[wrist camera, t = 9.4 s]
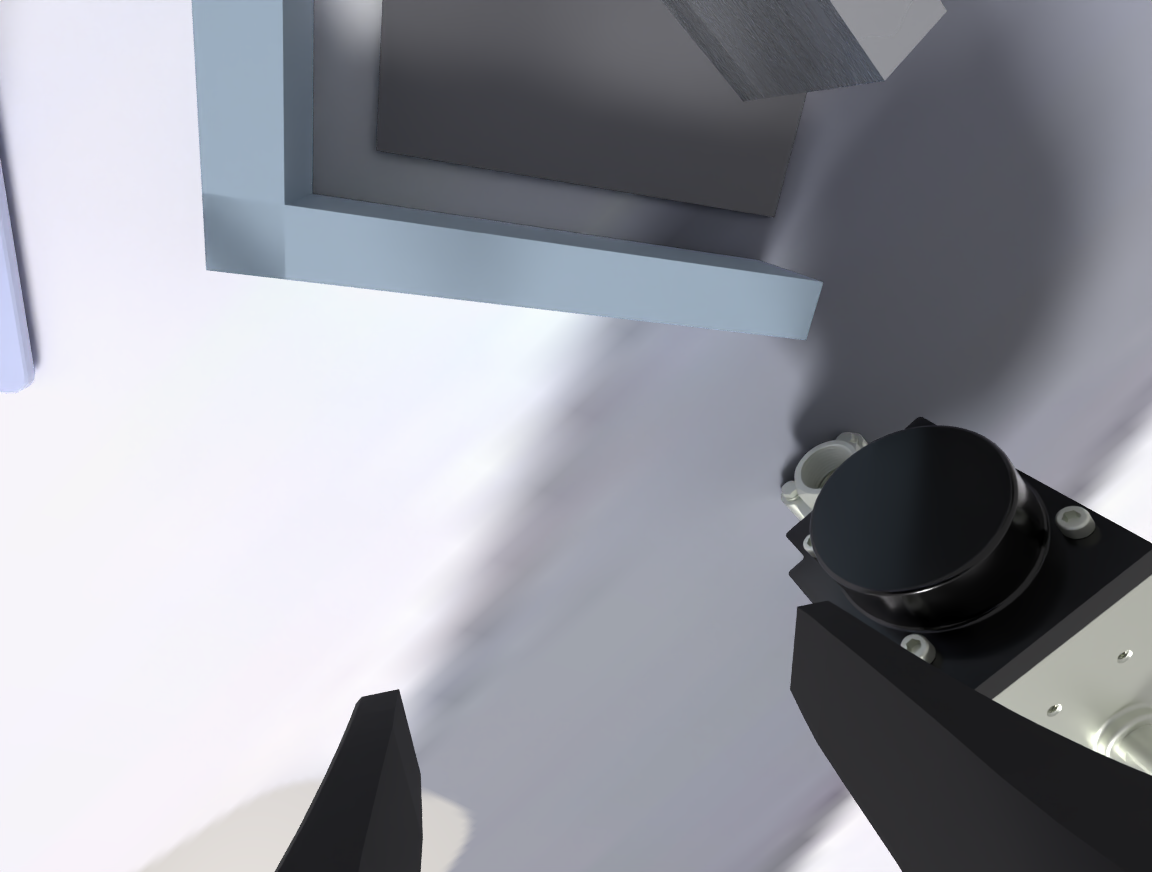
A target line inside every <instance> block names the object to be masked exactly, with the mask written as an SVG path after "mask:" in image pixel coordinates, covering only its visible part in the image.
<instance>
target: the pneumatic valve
mask: <svg viewBox="0 0 1152 872" xmlns="http://www.w3.org/2000/svg"><path fill="white" fill-rule="evenodd" d="M794 476H795V481H788V482H787V483H785V484H784V485H783V487H782V494H781V500H782V502H783V503H784V504H785V505H786V506H787V507H788V508H789V509H790V510H791V511H792V512H793V513H794V514H795V516H796V517H797V518H798V519H799V520H800V522H799V523H798V524H796V525H795V526H794V527H793V528H792V529H791V530H790V531H789V532H787V534H786V537H787V538H788V539H789V540H790V541H791V542H792V543H793V544H794V546H795V547H796V548H797V549H798V550H799V551H800V552H801V553H802V554H803V556H804V558H803V560H802V561H801V562H800V563H798V564H797V565H796V566H795V567H794V568H793V569H791V570H790V572H789V576H790V577H791V578H792V579H793V580H794V582H795V583H796V584H797V585H798V586H799V588H800V589H801V590H802V591H803V592H804V594H805V595H806V596H807V597H808V598H809V599H810V601H811V602H812V603H818V602H823V601H830V602H831V603H833V604H835V605H836V606H838V607H840V608H841V609H843V610H845V611H846V612H848V613H850V614H851V615H853V616H854V617H856V618H857V619H859V620H861V621H862V622H864V623H865V624H867V625H869V626H870V627H872V628H873V629H875V630H876V631H878V632H880V633H881V634H883V635H884V636H886V637H888V638H889V639H891V640H892V641H894V642H895V643H897V644H899V645H900V646H902V647H903V648H905V649H907V650H908V651H910V652H911V653H913V654H915V655H916V656H918V657H920V658H921V659H923V660H924V661H926V662H928V663H929V664H931V665H933V666H934V667H936V668H938V669H939V670H941V671H943V672H944V673H946V674H948V675H949V676H951V677H953V678H955V679H956V680H958V681H960V682H961V683H963V684H965V685H967V686H968V687H970V688H972V689H974V690H975V691H977V692H979V693H981V694H983V695H985V696H986V697H988V698H990V699H992V700H994V701H995V702H997V703H999V704H1001V705H1003V706H1005V707H1006V708H1008V709H1010V710H1012V711H1014V712H1016V713H1018V714H1019V715H1021V716H1023V717H1025V718H1027V719H1029V720H1031V721H1033V722H1035V723H1037V724H1039V725H1041V726H1043V727H1045V728H1047V729H1049V730H1051V731H1054V732H1056V733H1058V734H1060V735H1062V736H1064V737H1066V738H1068V739H1070V740H1072V741H1074V742H1076V743H1079V744H1081V745H1083V746H1085V747H1087V748H1089V749H1091V750H1093V751H1096V752H1098V753H1100V754H1102V755H1105V756H1107V757H1109V758H1111V759H1114V760H1116V761H1118V762H1120V763H1123V764H1125V765H1128V766H1130V767H1132V768H1135V769H1137V770H1140V771H1142V772H1145V773H1147V774H1149V775H1152V543H1150V542H1149V541H1147V540H1145V539H1143V538H1141V537H1139V536H1138V535H1136V534H1134V533H1132V532H1130V531H1129V530H1127V529H1125V528H1123V527H1121V526H1119V525H1118V524H1116V523H1114V522H1112V521H1110V520H1109V519H1107V518H1105V517H1103V516H1101V515H1099V514H1098V513H1096V512H1094V511H1092V510H1090V509H1088V508H1087V507H1085V506H1083V505H1081V504H1079V503H1078V502H1076V501H1074V500H1072V499H1070V498H1068V497H1067V496H1065V495H1063V494H1061V493H1059V492H1058V491H1056V490H1054V489H1052V488H1050V487H1048V486H1047V485H1045V484H1043V483H1041V482H1039V481H1037V480H1036V479H1034V478H1032V477H1030V476H1028V475H1027V474H1025V473H1023V472H1021V471H1019V470H1017V469H1016V468H1015V467H1014V466H1013V464H1012V463H1011V461H1010V459H1009V458H1008V457H1007V455H1006V454H1005V453H1004V452H1003V451H1002V450H1001V449H1000V448H999V447H998V446H997V445H996V444H995V443H993V442H992V441H991V440H989V439H987V438H986V437H984V436H982V435H980V434H978V433H976V432H973V431H970V430H967V429H963V428H959V427H953V426H942V425H935V424H934V423H932V422H930V421H928V420H926V419H925V418H923V417H919V418H917V419H916V420H914V421H913V422H912V423H911V424H910V425H909V426H908V427H907V428H905V429H904V430H901V431H897V432H895V433H892V434H889V435H886V436H884V437H882V438H879V439H877V440H875V441H873V442H871V443H869V444H868V443H867V442H866V441H865V439H864V438H863V437H862V436H861V435H860V434H859V433H851V432H843V433H841V434H840V435H839V436H838V437H837V438H836V440H832V441H828V442H824V443H822V444H820V445H817V446H816V447H814V448H813V449H811V450H810V451H809V452H807V453H806V454H805V455H804V457H803V458H802V459H801V460H800V462H799V464H798V465H797V467H796V469H795V475H794Z"/></svg>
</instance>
